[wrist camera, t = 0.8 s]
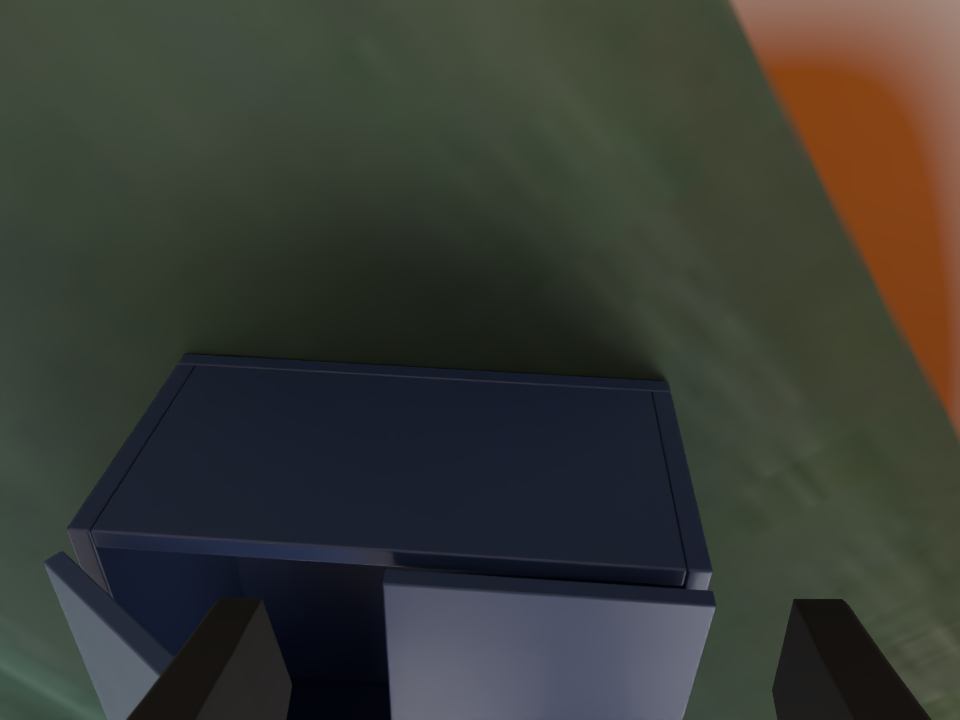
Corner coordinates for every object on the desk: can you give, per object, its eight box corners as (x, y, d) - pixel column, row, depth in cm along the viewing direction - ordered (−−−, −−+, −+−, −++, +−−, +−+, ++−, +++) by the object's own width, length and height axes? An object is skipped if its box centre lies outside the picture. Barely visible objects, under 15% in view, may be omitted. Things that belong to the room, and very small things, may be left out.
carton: (607, 695, 29) (624, 926, 23) (253, 669, 29) (178, 889, 23) (668, 380, 21) (722, 605, 15) (184, 352, 21) (44, 559, 15)
